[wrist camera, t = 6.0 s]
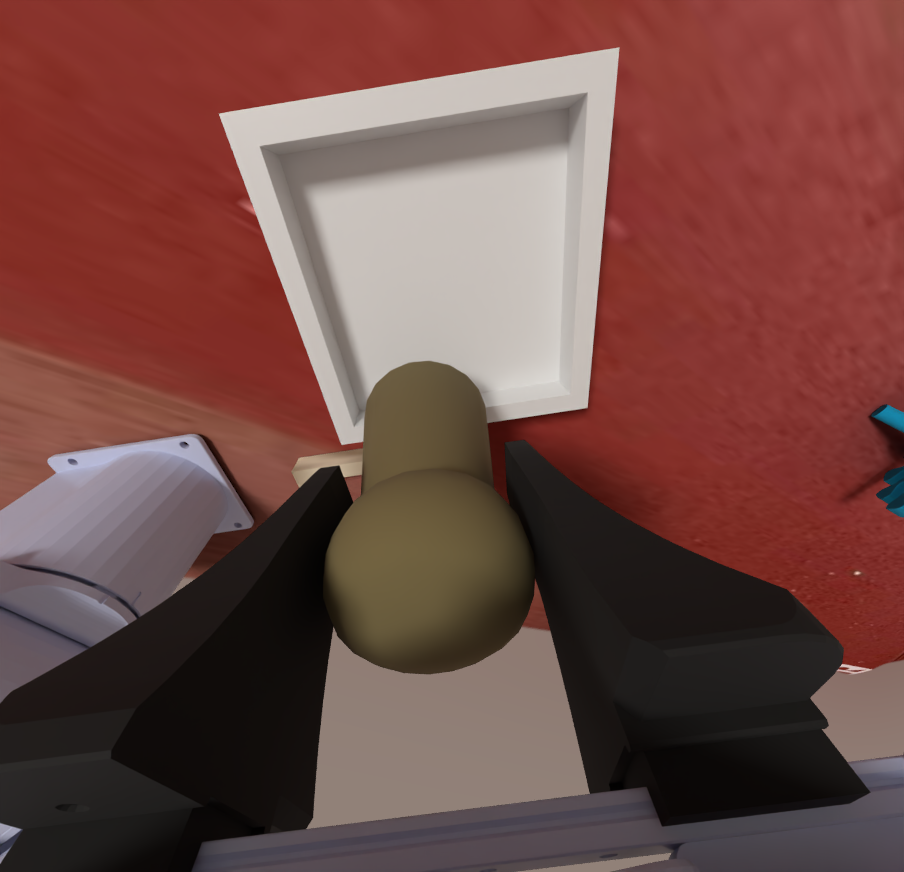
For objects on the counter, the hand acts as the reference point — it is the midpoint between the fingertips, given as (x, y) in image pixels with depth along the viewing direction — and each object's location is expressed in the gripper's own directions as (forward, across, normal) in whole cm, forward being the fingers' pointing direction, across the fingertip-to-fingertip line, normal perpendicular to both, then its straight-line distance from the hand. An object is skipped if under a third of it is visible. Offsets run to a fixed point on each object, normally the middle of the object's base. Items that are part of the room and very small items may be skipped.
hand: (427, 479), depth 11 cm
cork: (+6, 0, +1) cm, 7 cm away
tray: (+10, -2, -4) cm, 11 cm away
